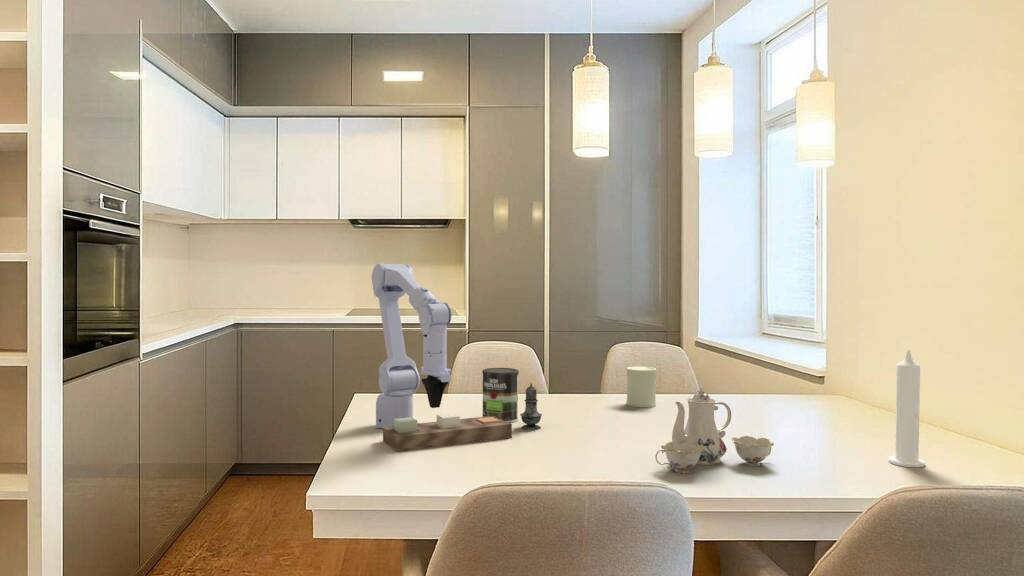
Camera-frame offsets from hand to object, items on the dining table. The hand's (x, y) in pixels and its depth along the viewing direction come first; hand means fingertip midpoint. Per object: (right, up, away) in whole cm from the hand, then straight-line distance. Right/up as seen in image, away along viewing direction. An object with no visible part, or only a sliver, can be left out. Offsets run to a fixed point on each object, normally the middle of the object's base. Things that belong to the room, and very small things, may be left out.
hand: (434, 407), depth 171 cm
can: (+60, -8, +48) cm, 77 cm away
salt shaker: (+24, -8, +15) cm, 30 cm away
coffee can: (+16, -8, +25) cm, 31 cm away
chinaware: (+62, -9, -19) cm, 66 cm away
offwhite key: (+3, -6, +2) cm, 7 cm away
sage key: (-7, -6, -3) cm, 9 cm away
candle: (+106, -9, -18) cm, 108 cm away
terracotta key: (+13, -8, +7) cm, 16 cm away
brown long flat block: (+3, -8, +2) cm, 9 cm away
